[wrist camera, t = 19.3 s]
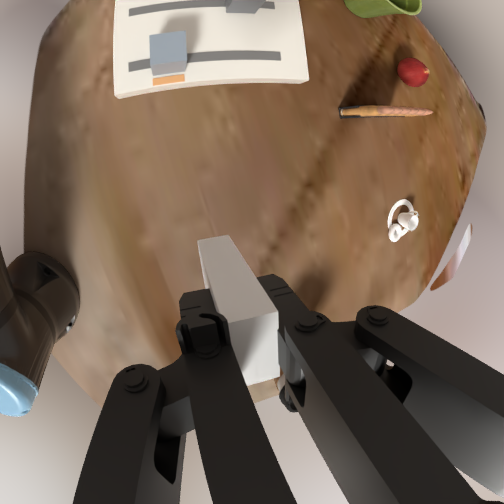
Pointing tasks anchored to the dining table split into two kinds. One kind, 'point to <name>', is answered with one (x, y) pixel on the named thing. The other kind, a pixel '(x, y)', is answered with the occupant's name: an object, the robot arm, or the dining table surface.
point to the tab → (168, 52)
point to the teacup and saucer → (402, 221)
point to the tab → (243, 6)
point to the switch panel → (208, 44)
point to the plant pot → (383, 7)
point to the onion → (412, 72)
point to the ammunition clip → (381, 111)
